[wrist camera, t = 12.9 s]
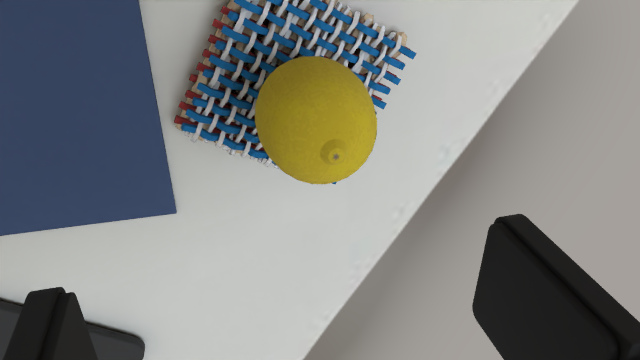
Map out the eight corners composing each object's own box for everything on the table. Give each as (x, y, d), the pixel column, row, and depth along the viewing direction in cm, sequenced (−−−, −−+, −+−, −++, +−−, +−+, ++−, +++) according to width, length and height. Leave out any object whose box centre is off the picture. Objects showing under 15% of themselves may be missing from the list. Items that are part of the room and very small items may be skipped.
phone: (-104, 280, 27) (150, 347, 34) (-97, 271, 28) (151, 338, 35) (-140, 367, 30) (106, 414, 36) (-132, 357, 30) (107, 404, 37)
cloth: (-240, -132, 19) (-244, -133, 19) (115, -130, 21) (114, -130, 21) (-58, 241, 28) (-59, 243, 28) (176, 211, 30) (176, 213, 30)
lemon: (244, 39, 24) (266, 93, 17) (350, 37, 25) (410, 87, 19) (248, 140, 27) (269, 221, 20) (344, 134, 28) (394, 208, 21)
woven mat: (243, -59, 24) (247, -56, 22) (410, 35, 28) (425, 44, 27) (167, 122, 27) (165, 137, 26) (326, 181, 32) (334, 197, 30)
